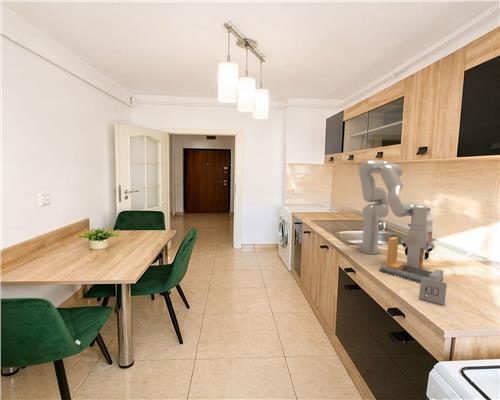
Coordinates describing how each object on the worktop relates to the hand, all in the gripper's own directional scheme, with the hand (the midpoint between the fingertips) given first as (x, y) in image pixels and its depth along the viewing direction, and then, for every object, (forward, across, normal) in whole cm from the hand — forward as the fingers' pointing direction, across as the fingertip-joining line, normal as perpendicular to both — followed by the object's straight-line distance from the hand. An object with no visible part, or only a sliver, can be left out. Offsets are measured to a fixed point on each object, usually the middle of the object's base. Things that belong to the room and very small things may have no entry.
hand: (416, 257), depth 159 cm
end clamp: (+5, -6, -15) cm, 17 cm away
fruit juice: (+6, -11, +46) cm, 48 cm away
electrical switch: (+7, +18, -37) cm, 42 cm away
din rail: (+6, +2, -15) cm, 16 cm away
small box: (+6, -1, 0) cm, 6 cm away
